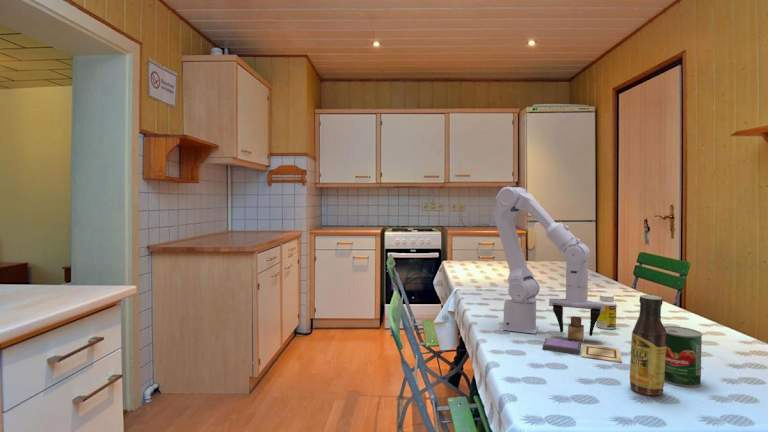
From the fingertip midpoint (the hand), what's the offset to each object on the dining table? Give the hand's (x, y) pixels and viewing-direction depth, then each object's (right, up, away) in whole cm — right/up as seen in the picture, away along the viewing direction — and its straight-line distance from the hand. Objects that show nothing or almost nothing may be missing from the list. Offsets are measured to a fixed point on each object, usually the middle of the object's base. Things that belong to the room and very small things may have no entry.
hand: (576, 333), depth 129 cm
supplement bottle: (+15, -2, +13) cm, 20 cm away
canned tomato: (+10, -3, -29) cm, 31 cm away
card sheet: (+2, -2, -12) cm, 12 cm away
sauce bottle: (0, -3, -35) cm, 35 cm away
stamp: (0, -2, 0) cm, 2 cm away
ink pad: (-7, -2, -8) cm, 11 cm away
